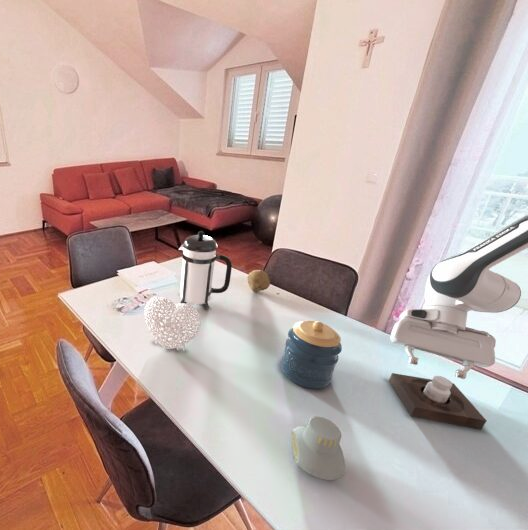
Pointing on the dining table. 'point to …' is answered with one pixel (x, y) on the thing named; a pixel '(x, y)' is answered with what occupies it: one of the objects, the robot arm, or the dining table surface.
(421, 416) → the socket pad
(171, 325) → the decorative heart
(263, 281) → the natural sponge
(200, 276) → the coffee press
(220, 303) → the dining table surface
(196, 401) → the dining table surface
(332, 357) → the canister
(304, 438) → the air freshener
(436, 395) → the pill bottle
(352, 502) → the dining table surface
